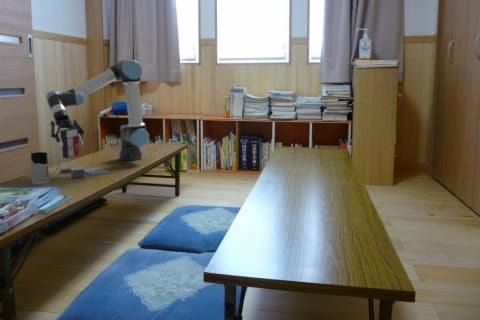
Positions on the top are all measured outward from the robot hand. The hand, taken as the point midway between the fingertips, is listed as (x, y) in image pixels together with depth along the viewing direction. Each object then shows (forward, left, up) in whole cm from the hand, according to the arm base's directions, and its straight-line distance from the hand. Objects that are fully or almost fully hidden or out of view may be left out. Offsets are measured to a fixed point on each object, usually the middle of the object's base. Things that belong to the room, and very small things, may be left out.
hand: (72, 145), depth 240 cm
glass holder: (+16, +6, -17) cm, 25 cm away
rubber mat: (-14, -3, -17) cm, 22 cm away
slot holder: (0, -3, -17) cm, 17 cm away
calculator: (0, -3, -7) cm, 7 cm away
